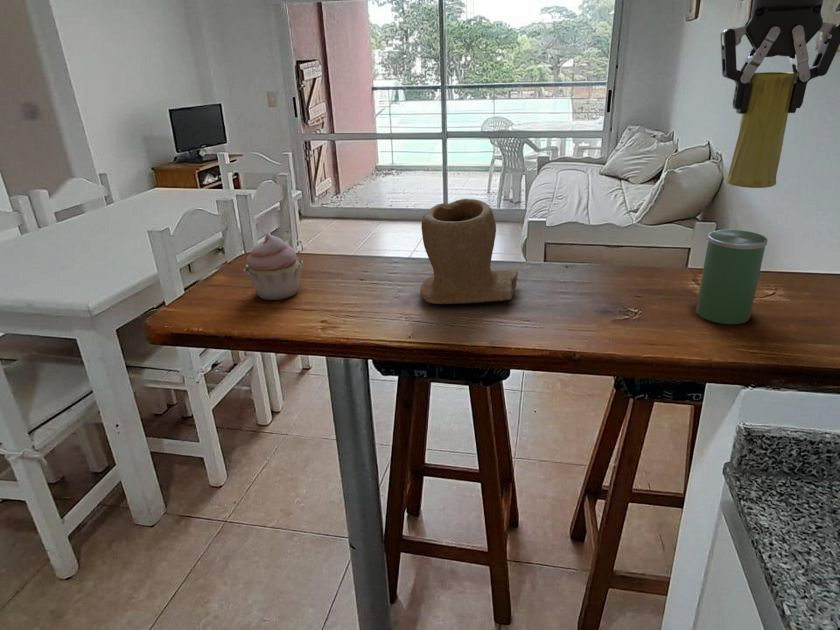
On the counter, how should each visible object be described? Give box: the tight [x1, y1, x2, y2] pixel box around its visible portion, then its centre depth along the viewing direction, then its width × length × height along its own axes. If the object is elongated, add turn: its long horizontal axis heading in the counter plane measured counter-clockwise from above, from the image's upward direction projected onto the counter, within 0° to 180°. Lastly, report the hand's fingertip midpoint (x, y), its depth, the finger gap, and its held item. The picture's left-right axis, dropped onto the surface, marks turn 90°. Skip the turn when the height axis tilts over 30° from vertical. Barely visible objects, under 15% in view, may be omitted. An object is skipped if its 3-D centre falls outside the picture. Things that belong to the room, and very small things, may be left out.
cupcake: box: [242, 233, 304, 301], centre depth 90 cm, size 9×9×10 cm
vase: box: [726, 71, 796, 189], centre depth 77 cm, size 6×6×14 cm
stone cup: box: [419, 198, 519, 305], centre depth 84 cm, size 15×12×15 cm
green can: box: [695, 229, 768, 325], centre depth 76 cm, size 7×7×11 cm
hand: (765, 112), depth 76 cm, fingers closed on vase, 5 cm apart
